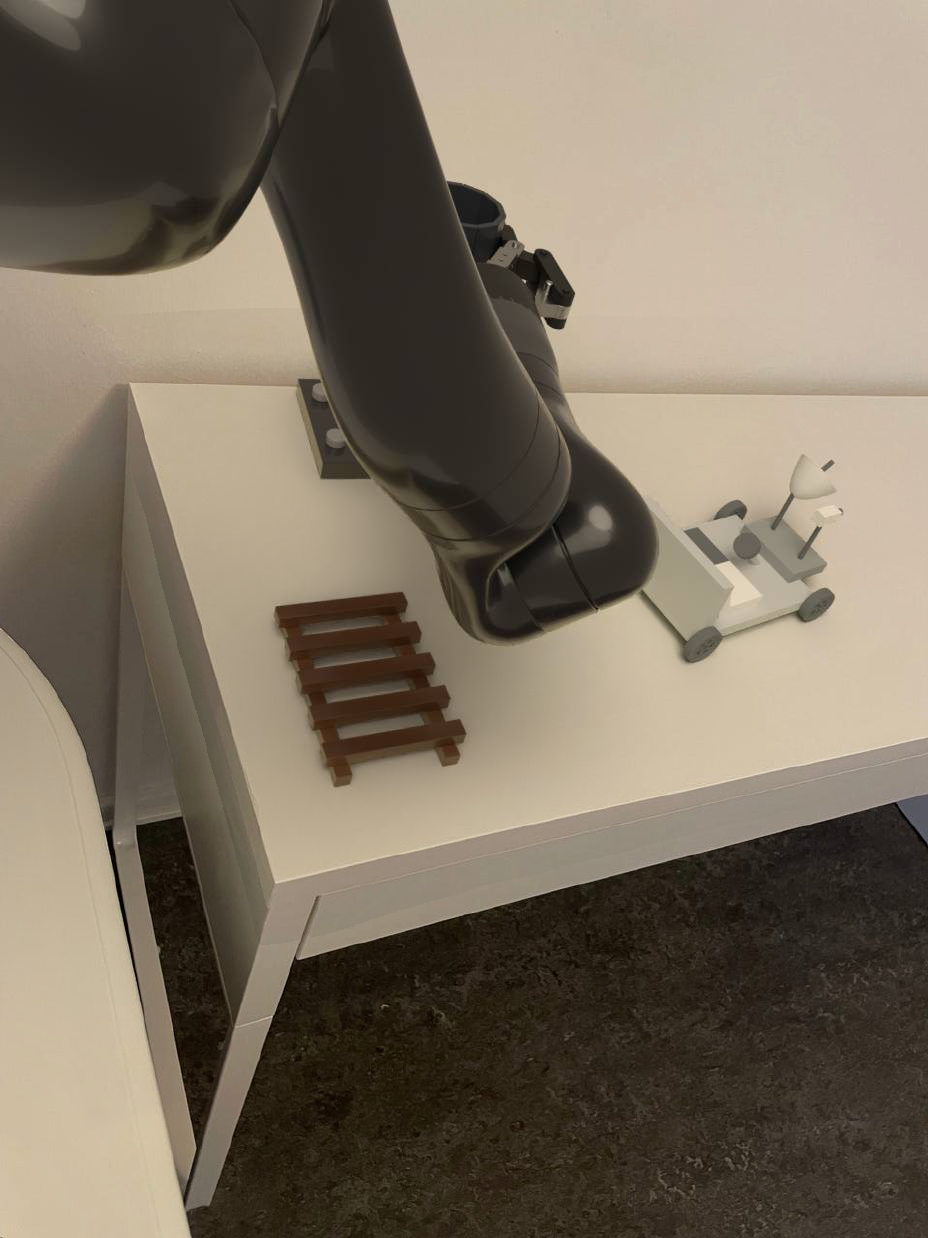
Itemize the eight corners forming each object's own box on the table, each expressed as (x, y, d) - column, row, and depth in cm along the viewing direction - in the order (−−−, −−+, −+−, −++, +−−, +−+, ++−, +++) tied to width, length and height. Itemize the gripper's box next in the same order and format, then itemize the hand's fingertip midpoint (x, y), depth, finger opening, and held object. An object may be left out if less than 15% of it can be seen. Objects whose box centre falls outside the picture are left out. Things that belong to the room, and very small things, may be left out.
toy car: (804, 425, 83) (908, 519, 77) (753, 516, 90) (845, 609, 84) (635, 462, 74) (738, 571, 68) (593, 560, 81) (683, 667, 75)
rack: (269, 617, 69) (271, 596, 68) (394, 602, 73) (399, 582, 72) (326, 789, 61) (330, 770, 60) (464, 762, 65) (471, 744, 63)
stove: (320, 478, 80) (324, 454, 79) (295, 394, 87) (298, 369, 85) (509, 477, 86) (517, 454, 84) (472, 397, 93) (478, 374, 91)
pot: (480, 352, 73) (513, 232, 67) (392, 343, 71) (417, 219, 65) (455, 266, 81) (481, 151, 75) (375, 255, 79) (395, 137, 73)
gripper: (621, 316, 59) (558, 183, 70) (375, 285, 56) (349, 150, 67) (582, 422, 65) (529, 283, 76) (354, 401, 61) (333, 258, 72)
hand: (445, 221), depth 71 cm, fingers closed on pot, 6 cm apart
